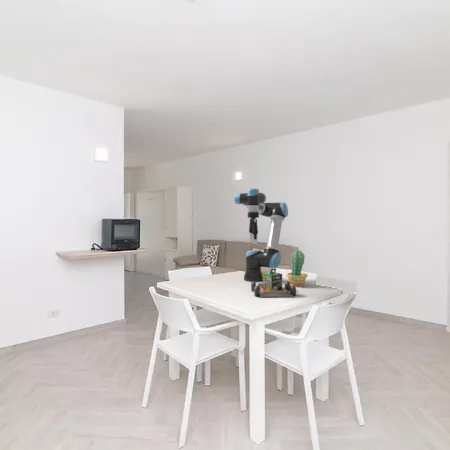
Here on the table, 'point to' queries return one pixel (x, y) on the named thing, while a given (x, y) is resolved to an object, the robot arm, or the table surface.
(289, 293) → the chassis
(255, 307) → the table surface
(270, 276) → the chalk box
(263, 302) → the table surface
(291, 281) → the potted cactus
